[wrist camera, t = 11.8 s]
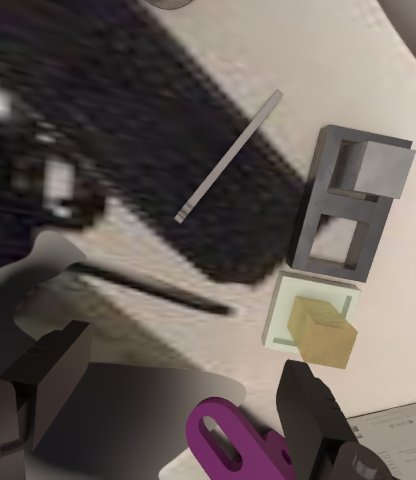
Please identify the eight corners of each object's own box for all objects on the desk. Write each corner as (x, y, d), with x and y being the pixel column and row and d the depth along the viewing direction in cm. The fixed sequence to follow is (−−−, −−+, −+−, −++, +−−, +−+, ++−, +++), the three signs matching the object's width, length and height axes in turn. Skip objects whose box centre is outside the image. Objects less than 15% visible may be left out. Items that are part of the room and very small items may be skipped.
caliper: (183, 220, 39) (178, 228, 33) (177, 215, 39) (170, 222, 33) (282, 95, 35) (297, 78, 29) (276, 89, 35) (289, 70, 29)
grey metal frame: (320, 128, 36) (330, 124, 33) (396, 144, 36) (412, 141, 33) (285, 261, 40) (291, 268, 37) (354, 275, 40) (365, 282, 37)
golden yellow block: (295, 295, 40) (315, 324, 32) (329, 302, 40) (357, 331, 32) (286, 327, 41) (304, 361, 33) (320, 333, 41) (345, 369, 33)
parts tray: (279, 271, 40) (283, 276, 38) (354, 285, 40) (361, 290, 38) (261, 339, 42) (264, 347, 40) (332, 352, 43) (338, 360, 41)
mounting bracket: (194, 403, 52) (264, 497, 46) (174, 427, 44) (255, 544, 38) (230, 370, 50) (306, 464, 45) (215, 389, 42) (306, 506, 37)
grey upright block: (335, 148, 36) (368, 140, 29) (372, 156, 36) (416, 150, 29) (324, 187, 37) (353, 189, 30) (360, 194, 38) (399, 199, 30)
